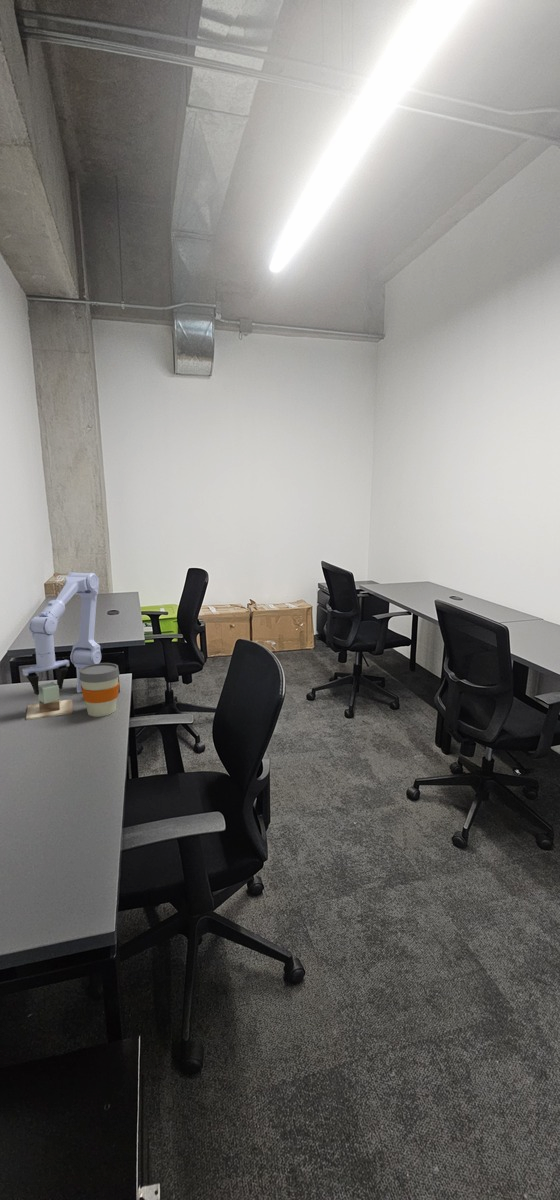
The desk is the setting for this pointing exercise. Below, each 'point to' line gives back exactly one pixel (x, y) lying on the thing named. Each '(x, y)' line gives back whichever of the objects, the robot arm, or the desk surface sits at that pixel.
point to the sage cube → (48, 692)
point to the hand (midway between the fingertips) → (48, 691)
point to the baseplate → (37, 714)
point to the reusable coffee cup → (100, 688)
